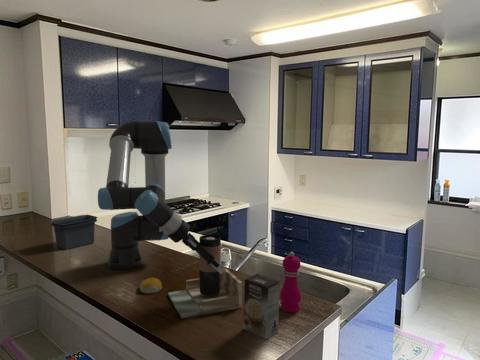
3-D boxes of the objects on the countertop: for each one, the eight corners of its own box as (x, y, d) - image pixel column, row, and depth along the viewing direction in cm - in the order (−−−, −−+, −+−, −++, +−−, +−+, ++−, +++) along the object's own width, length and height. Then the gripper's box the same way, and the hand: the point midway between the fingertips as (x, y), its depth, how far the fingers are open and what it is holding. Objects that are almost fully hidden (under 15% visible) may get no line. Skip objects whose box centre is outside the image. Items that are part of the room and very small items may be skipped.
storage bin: (61, 252, 184) (60, 224, 183) (47, 246, 194) (46, 219, 192) (100, 243, 201) (100, 217, 199) (85, 238, 210) (84, 213, 209)
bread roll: (161, 284, 147) (161, 274, 147) (162, 293, 139) (162, 283, 138) (139, 285, 145) (139, 275, 145) (139, 295, 137) (139, 284, 136)
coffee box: (242, 329, 113) (243, 278, 111) (255, 321, 118) (256, 272, 116) (266, 340, 107) (267, 286, 105) (279, 331, 112) (280, 280, 110)
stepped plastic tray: (167, 294, 137) (167, 271, 136) (220, 286, 145) (220, 263, 144) (182, 319, 119) (182, 292, 118) (241, 307, 127) (242, 282, 126)
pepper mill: (275, 308, 127) (276, 251, 125) (288, 301, 132) (289, 247, 130) (292, 315, 122) (293, 256, 120) (305, 308, 127) (307, 252, 125)
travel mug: (224, 290, 134) (225, 236, 132) (212, 298, 127) (212, 241, 125) (207, 285, 138) (207, 233, 136) (194, 293, 131) (194, 238, 129)
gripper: (160, 228, 133) (203, 266, 141) (174, 243, 115) (222, 286, 123) (174, 213, 135) (216, 251, 143) (190, 225, 116) (237, 268, 125)
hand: (219, 267), depth 133 cm, fingers closed on travel mug, 7 cm apart
